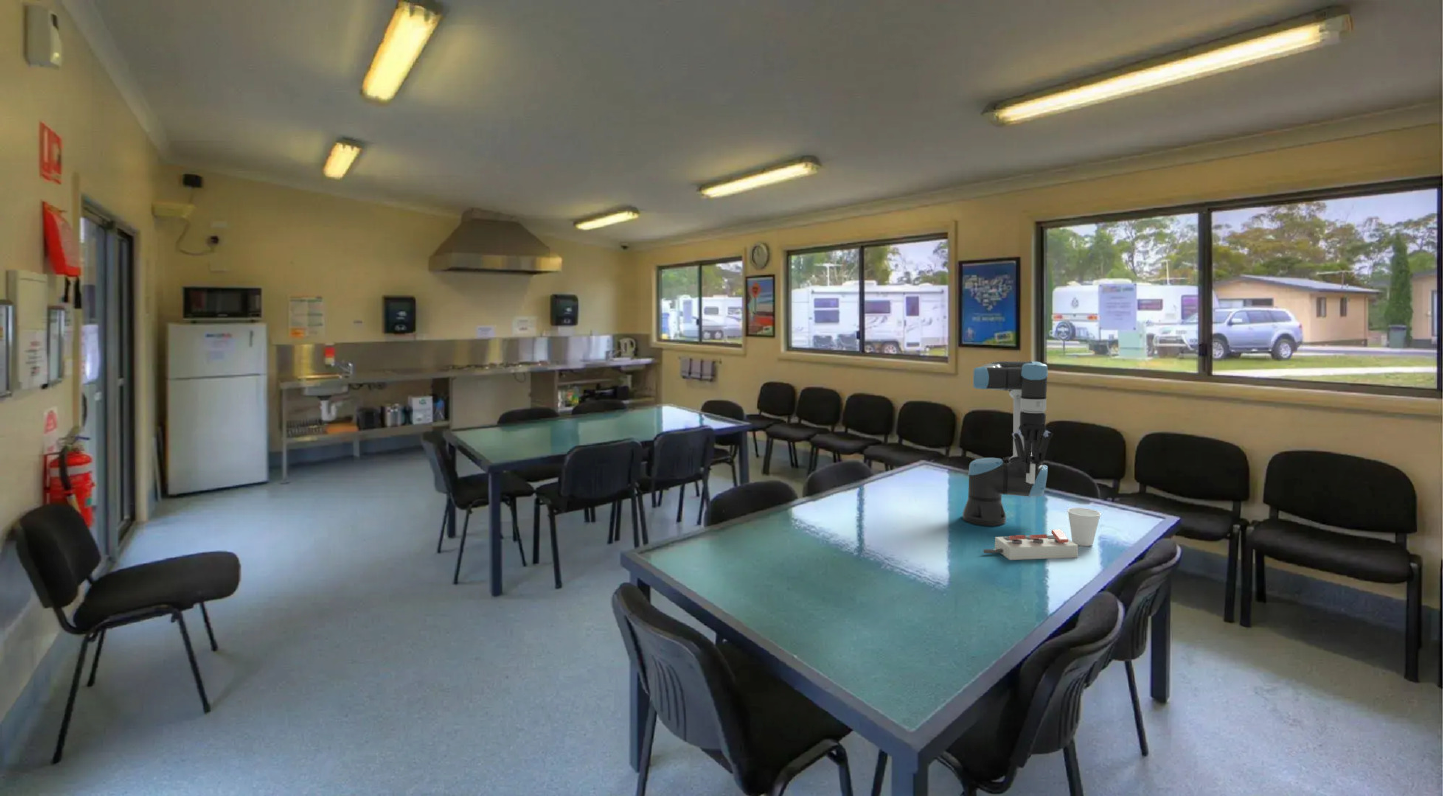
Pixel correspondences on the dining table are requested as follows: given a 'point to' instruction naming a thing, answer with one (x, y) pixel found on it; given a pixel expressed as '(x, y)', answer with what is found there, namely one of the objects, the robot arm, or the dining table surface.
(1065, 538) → the rocker
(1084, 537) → the cup
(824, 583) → the dining table surface
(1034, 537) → the rocker
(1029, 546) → the strip
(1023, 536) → the rocker
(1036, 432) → the robot arm
